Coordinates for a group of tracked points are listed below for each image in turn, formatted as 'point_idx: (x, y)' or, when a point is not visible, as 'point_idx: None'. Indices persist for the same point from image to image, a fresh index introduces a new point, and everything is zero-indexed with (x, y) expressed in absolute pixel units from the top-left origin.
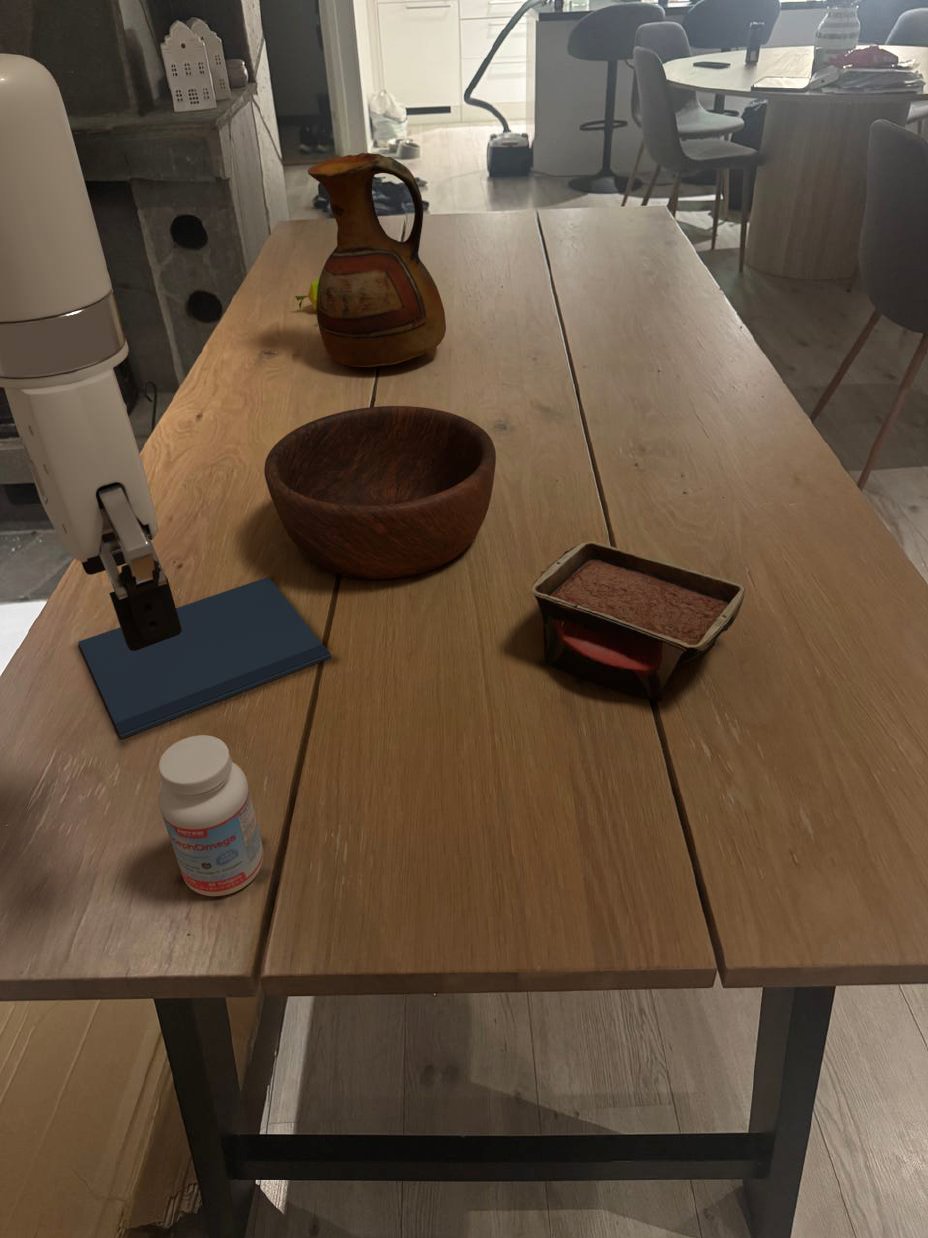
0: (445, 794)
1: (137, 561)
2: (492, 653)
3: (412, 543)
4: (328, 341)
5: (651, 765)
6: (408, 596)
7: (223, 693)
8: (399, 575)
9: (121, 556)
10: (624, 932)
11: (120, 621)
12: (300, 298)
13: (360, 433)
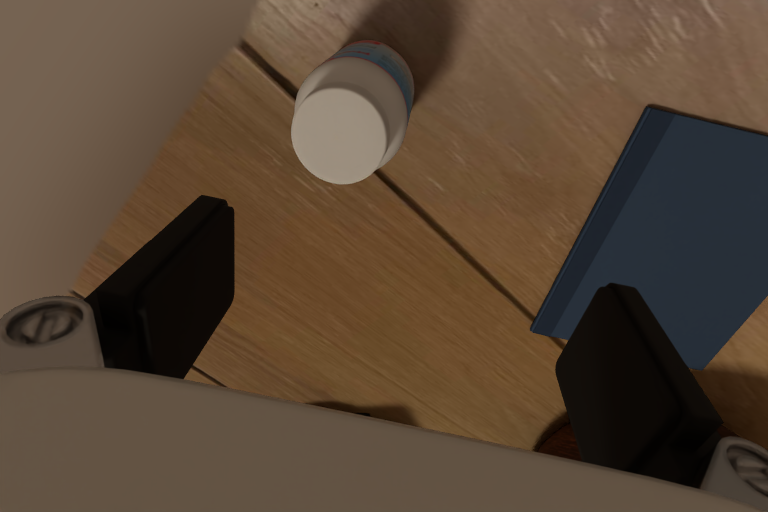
0: (302, 278)
1: None
2: (409, 401)
3: None
4: None
5: (228, 379)
6: (533, 415)
7: (586, 232)
8: (558, 431)
9: (568, 367)
10: (114, 269)
11: (153, 238)
12: None
13: None
